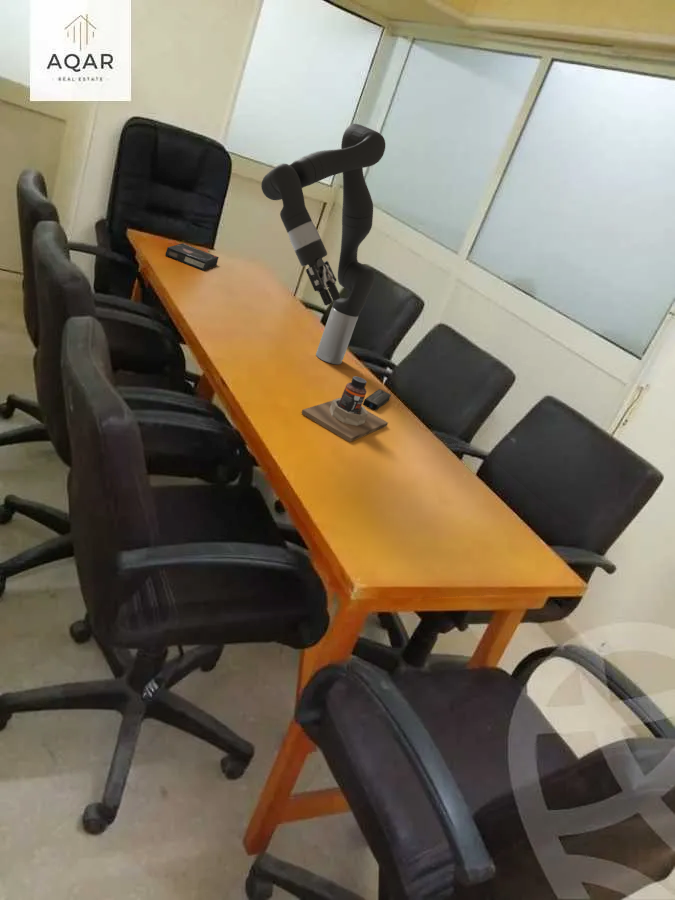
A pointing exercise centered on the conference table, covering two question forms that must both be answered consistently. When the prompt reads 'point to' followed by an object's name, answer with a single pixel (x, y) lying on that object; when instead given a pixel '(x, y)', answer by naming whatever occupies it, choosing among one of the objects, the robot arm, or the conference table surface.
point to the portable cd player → (192, 256)
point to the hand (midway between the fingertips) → (333, 301)
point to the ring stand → (344, 420)
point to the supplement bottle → (353, 395)
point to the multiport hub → (376, 399)
